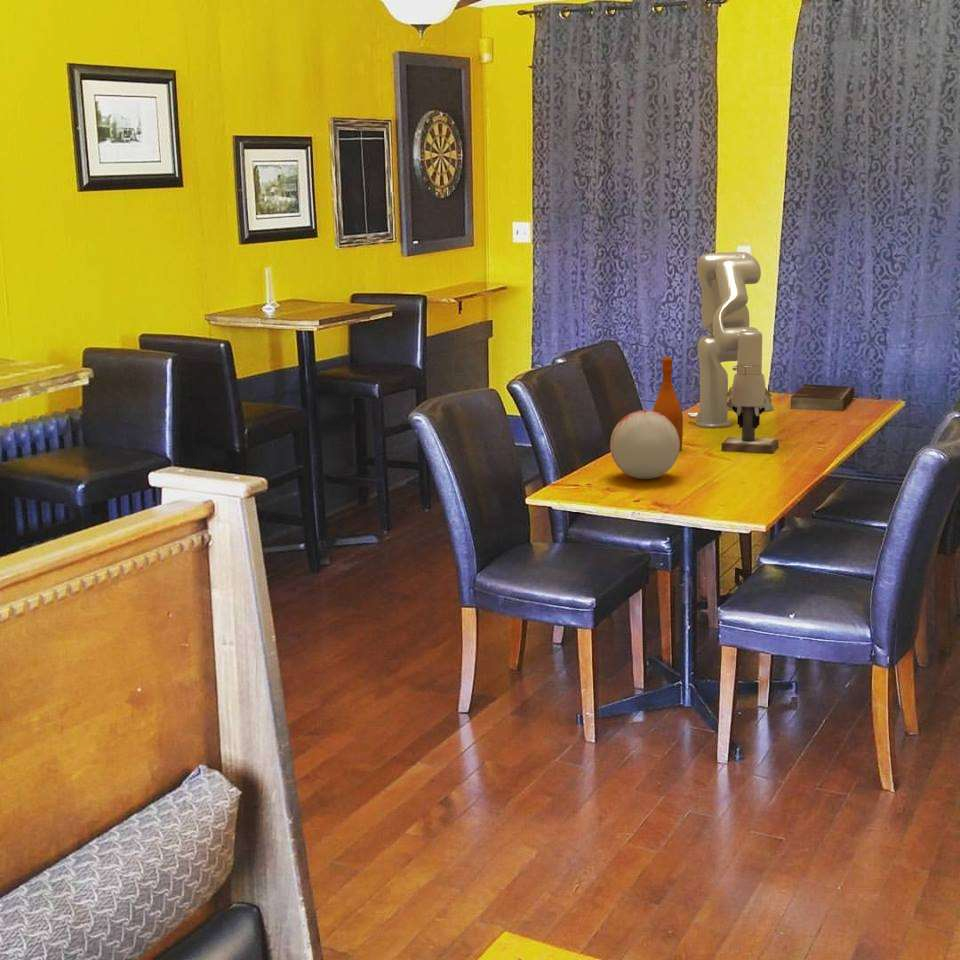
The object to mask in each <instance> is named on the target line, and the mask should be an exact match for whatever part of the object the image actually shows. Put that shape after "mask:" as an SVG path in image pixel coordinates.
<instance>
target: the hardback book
mask: <svg viewBox="0 0 960 960" xmlns="http://www.w3.org/2000/svg"><path fill="white" fill-rule="evenodd" d="M855 393H856V392H855V387H854V386H846V385H825V384H807V383H805V384H803V385H802V386H801V387H800V388H798V390H797V391H796V392H795V393H794V394H793V395H791V396H790V409H791V410H803V409H806V410H807V411H827V412H828V411H832V412H843V411H844V410H845V409H846V408H847V406H848V405H849V404H850V403H851V402H852V401H853V400H854V398H855ZM850 400H851V401H850ZM849 402H850V403H849ZM806 410H805V411H806Z"/></svg>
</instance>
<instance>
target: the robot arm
mask: <svg viewBox="0 0 960 960" xmlns="http://www.w3.org/2000/svg"><path fill="white" fill-rule="evenodd" d="M696 272H697V277H698V280H699V283H700V287H701V296H702V297H701V321H702V326H703V328H704V329H705V330H708V331H713V332H712V333H713V334H706V335H704V336H702V337H700V339H698V341H697V354H698V359H699V360H698V361H699V374H700V375H699V411H697V412H694V411H693V412H692V411H688V413H687V418H689V419H696V420H695V425H696V426H697V427H701V428H711V429H713V428H715V429H717V428H727V427H730V426H733V421H732V420H731V419H728V411H729V410H728V407H730V408H731V409H732V410H733V411H734V412H733V413H735V414H736V416H737V425H738V429H742V407H754V409H755V416H754V429H755V430H756V429H757V428H758V427H759V426H760V423H761V421H760V419H761V418H760V416H761V415H762V413H764V412H763V411H765V410H767V409H768V408H770V407H771V404H772V403H771V404H770V402H769V401H768V399H767V398H766V389H767V388H766V389H765V387H766V381H765V379H766V378H765V376H764V374H763V373H762V371H763V370H762V367H763V333H762V332H761V331H759V330H758V328H756V327H753V326H750V311H749V308H748V306H747V303H748V301H749V295H748V293H747V288H746V285H754V284H758V283H759V281H760V280H761V276H762V270H761V265H760V263H759V261H758V260H757V258H755V257H754V256H753V255H751V253H749V252H745V251H732V252H729V251H728V252H711V253H705V254H703V255H701V256H700V257H699V258H698V259H697V263H696ZM725 362H737V363H736V365H733V366H732V371H735V374H734V375H733V380H732V384H733V387H732V386H731V387H732V397H731V398H730V400H729V401H728V392H729V375H728V371H727V370H726V369H725V368H724V366H723V365H722V364H721V363H725ZM764 404H765V406H764V407H762V408H761V409H760V407H761V406H763V405H764ZM737 406H738V407H737Z"/></svg>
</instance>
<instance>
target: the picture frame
mask: <svg viewBox="0 0 960 960" xmlns="http://www.w3.org/2000/svg"><path fill="white" fill-rule="evenodd" d="M778 448H779V439H777V438H776V439H775V438H767V437H766V438H763V437H762V438H761V437H755V441H750V442H747V441H742V436H728V437H727V438H726V439H725V440H724V441H722V443H721V452H731V451H732V452H735V453H749V452H751V454H752V452H753V454H771V455H772V454H774V453H775V452H776V450H777V449H778Z"/></svg>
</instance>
